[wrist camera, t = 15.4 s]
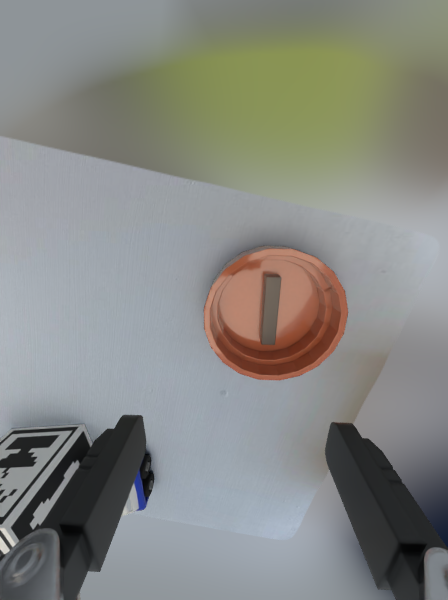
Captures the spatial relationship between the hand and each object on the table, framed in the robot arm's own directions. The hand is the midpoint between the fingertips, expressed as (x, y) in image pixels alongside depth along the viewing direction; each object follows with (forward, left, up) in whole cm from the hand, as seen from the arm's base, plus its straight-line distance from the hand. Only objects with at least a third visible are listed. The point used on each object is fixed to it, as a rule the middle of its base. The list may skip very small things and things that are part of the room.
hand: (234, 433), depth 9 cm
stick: (+2, +5, -23) cm, 24 cm away
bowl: (+2, +5, -24) cm, 24 cm away
